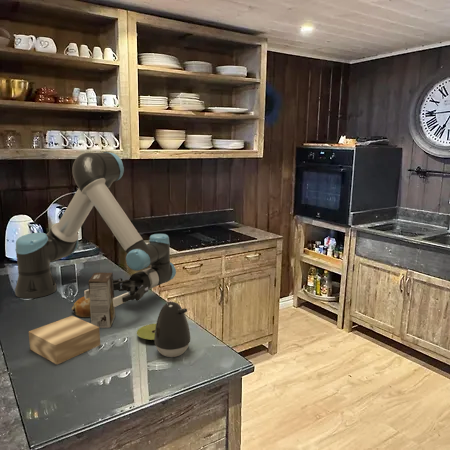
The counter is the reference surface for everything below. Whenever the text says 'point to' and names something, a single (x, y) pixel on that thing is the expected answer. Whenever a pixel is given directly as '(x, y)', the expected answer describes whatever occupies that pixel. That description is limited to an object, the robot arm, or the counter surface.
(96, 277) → the coffee box
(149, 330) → the green textured disc
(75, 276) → the counter surface
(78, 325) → the oak block
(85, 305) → the bread roll
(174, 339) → the pump dispenser
